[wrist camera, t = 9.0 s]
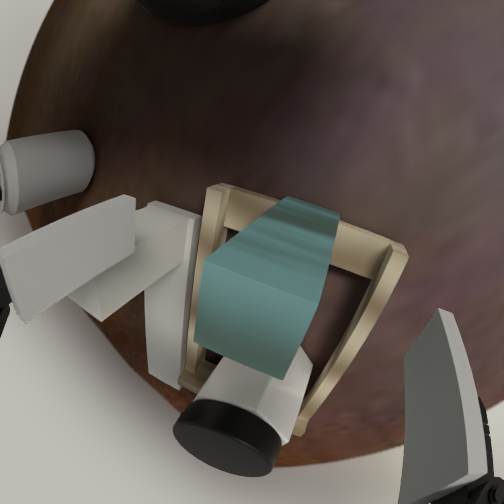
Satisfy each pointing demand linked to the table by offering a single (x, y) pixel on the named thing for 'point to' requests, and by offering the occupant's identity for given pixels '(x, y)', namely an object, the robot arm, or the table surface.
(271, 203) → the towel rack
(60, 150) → the can
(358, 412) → the table surface
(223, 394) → the jar
